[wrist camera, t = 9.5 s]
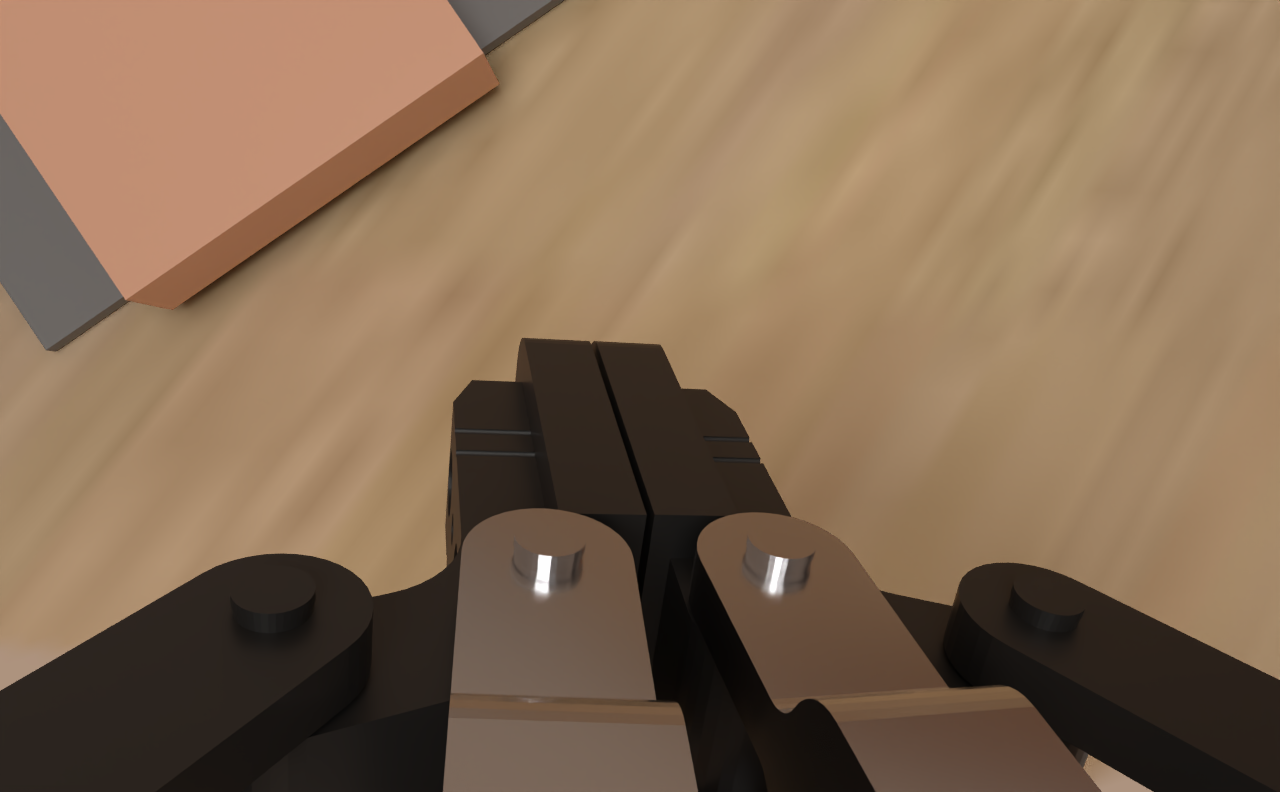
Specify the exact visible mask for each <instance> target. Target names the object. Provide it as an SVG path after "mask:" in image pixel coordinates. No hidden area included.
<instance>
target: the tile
mask: <svg viewBox="0 0 1280 792" xmlns="http://www.w3.org/2000/svg"><path fill="white" fill-rule="evenodd" d="M498 85H499V82H498V80H497V78H496V76H495V75H494V73H493V71H492V69H491V67H490V65H489V63H488V61H487V59H486V57H485V55H484V53H483V52H482V50H481V49H480V47H479V46H478V44H477V43H476V41H475V40H474V38H473V37H472V36H471V34H470V33H469V31H468V30H467V28H466V27H465V25H464V24H463V22H462V21H461V20H460V18H459V17H458V15H457V14H456V12H455V11H454V9H453V8H452V6H451V5H450V4H449V2H448V1H447V0H0V114H1V116H2V117H3V119H4V120H5V122H6V123H7V125H8V126H9V128H10V129H11V131H12V132H13V134H14V135H15V137H16V138H17V139H18V141H19V142H20V144H21V145H22V147H23V148H24V150H25V151H26V153H27V154H28V156H29V157H30V159H31V160H32V162H33V163H34V165H35V166H36V168H37V169H38V171H39V172H40V174H41V175H42V177H43V178H44V180H45V181H46V183H47V184H48V186H49V187H50V189H51V190H52V192H53V193H54V195H55V196H56V197H57V199H58V200H59V202H60V203H61V205H62V206H63V208H64V209H65V211H66V212H67V214H68V215H69V217H70V218H71V220H72V221H73V223H74V224H75V226H76V227H77V229H78V230H79V232H80V233H81V235H82V236H83V238H84V239H85V241H86V242H87V244H88V245H89V247H90V248H91V250H92V251H93V253H94V254H95V255H96V257H97V258H98V260H99V261H100V263H101V264H102V266H103V267H104V269H105V270H106V272H107V273H108V275H109V276H110V278H111V279H112V281H113V282H114V284H115V285H116V287H117V288H118V290H119V291H120V293H121V294H122V296H123V297H124V299H125V300H127V301H132V302H137V303H142V304H147V305H152V306H156V307H161V308H166V309H171V310H173V309H174V308H176V307H177V306H179V305H180V304H182V303H183V302H184V301H186V300H187V299H189V298H190V297H192V296H193V295H195V294H196V293H197V292H199V291H200V290H202V289H203V288H205V287H206V286H208V285H209V284H211V283H212V282H213V281H215V280H216V279H218V278H219V277H221V276H222V275H224V274H225V273H226V272H228V271H229V270H231V269H232V268H234V267H235V266H237V265H238V264H239V263H241V262H242V261H244V260H245V259H247V258H248V257H250V256H251V255H253V254H254V253H255V252H257V251H258V250H260V249H261V248H263V247H264V246H266V245H267V244H268V243H270V242H271V241H273V240H274V239H276V238H277V237H279V236H280V235H282V234H283V233H284V232H286V231H287V230H289V229H290V228H292V227H293V226H295V225H296V224H297V223H299V222H300V221H302V220H303V219H305V218H306V217H308V216H309V215H311V214H312V213H313V212H315V211H316V210H318V209H319V208H321V207H322V206H324V205H325V204H326V203H328V202H329V201H331V200H332V199H334V198H335V197H337V196H338V195H340V194H341V193H342V192H344V191H345V190H347V189H348V188H350V187H351V186H353V185H354V184H355V183H357V182H358V181H360V180H361V179H363V178H364V177H366V176H367V175H369V174H370V173H371V172H373V171H374V170H376V169H377V168H379V167H380V166H382V165H383V164H384V163H386V162H387V161H389V160H390V159H392V158H393V157H395V156H396V155H398V154H399V153H400V152H402V151H403V150H405V149H406V148H408V147H409V146H411V145H412V144H413V143H415V142H416V141H418V140H419V139H421V138H422V137H424V136H425V135H427V134H428V133H429V132H431V131H432V130H434V129H435V128H437V127H438V126H440V125H441V124H442V123H444V122H445V121H447V120H448V119H450V118H451V117H453V116H454V115H455V114H457V113H458V112H460V111H461V110H463V109H464V108H466V107H467V106H469V105H470V104H471V103H473V102H474V101H476V100H477V99H479V98H480V97H482V96H483V95H484V94H486V93H487V92H489V91H490V90H492V89H493V88H495V87H496V86H498Z"/></svg>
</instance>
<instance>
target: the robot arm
mask: <svg viewBox="0 0 1280 792" xmlns="http://www.w3.org/2000/svg"><path fill="white" fill-rule="evenodd" d="M445 529H446V555H447V567H446V568H445V569H444V570H443V571H441V572H440V573H439V574H437V575H436V576H434V577H433V578H431V579H429V580H427V581H425V582H423V583H421V584H419V585H416V586H413V587H411V588H408V589H405V590H401V591H397V592H393V593H389V594H385V595H380V596H375V597H372V596H371V594H370V592H369V589H368V587H367V586H366V585H365V584H364V582H363V581H362V580H361V579H360V578H359V577H358V576H356V575H355V574H354V573H353V572H351V571H350V570H348V569H346V568H344V567H343V566H341V565H338V564H336V563H333V562H331V561H328V560H325V559H321V558H317V557H313V556H306V555H299V554H264V555H257V556H251V557H245V558H241V559H237V560H233V561H230V562H227V563H224V564H222V565H219V566H216V567H214V568H212V569H210V570H208V571H206V572H204V573H202V574H201V575H199V576H197V577H195V578H194V579H192V580H190V581H188V582H187V583H185V584H183V585H182V586H180V587H178V588H176V589H175V590H173V591H171V592H170V593H168V594H166V595H164V596H163V597H161V598H159V599H158V600H156V601H154V602H152V603H151V604H149V605H147V606H145V607H144V608H142V609H140V610H139V611H137V612H135V613H133V614H132V615H130V616H128V617H127V618H125V619H123V620H121V621H120V622H118V623H116V624H115V625H113V626H111V627H109V628H108V629H106V630H104V631H102V632H101V633H99V634H97V635H96V636H94V637H92V638H90V639H89V640H87V641H85V642H84V643H82V644H80V645H78V646H77V647H75V648H73V649H72V650H70V651H68V652H66V653H65V654H63V655H61V656H59V657H58V658H56V659H54V660H53V661H51V662H49V663H47V664H46V665H44V666H42V667H41V668H39V669H37V670H35V671H34V672H32V673H30V674H29V675H27V676H25V677H23V678H22V679H20V680H18V681H16V682H15V683H13V684H11V685H10V686H8V687H6V688H4V689H3V690H1V691H0V792H1101V790H1100V789H1099V788H1098V787H1097V785H1096V784H1095V783H1094V781H1093V780H1092V779H1091V778H1090V776H1089V775H1088V774H1087V773H1086V771H1085V770H1084V769H1083V767H1084V764H1085V762H1086V759H1087V757H1088V754H1089V755H1091V756H1093V757H1094V758H1096V759H1098V760H1100V761H1101V762H1103V763H1105V764H1106V765H1108V766H1110V767H1112V768H1113V769H1115V770H1117V771H1119V772H1120V773H1122V774H1124V775H1126V776H1127V777H1129V778H1131V779H1132V780H1134V781H1136V782H1138V783H1139V784H1141V785H1143V786H1145V787H1146V788H1148V789H1150V790H1152V791H1154V792H1280V680H1278V679H1276V678H1274V677H1272V676H1270V675H1268V674H1266V673H1264V672H1262V671H1260V670H1258V669H1256V668H1254V667H1252V666H1250V665H1248V664H1245V663H1243V662H1241V661H1239V660H1237V659H1235V658H1233V657H1231V656H1229V655H1227V654H1225V653H1223V652H1221V651H1219V650H1217V649H1215V648H1213V647H1211V646H1209V645H1207V644H1205V643H1203V642H1201V641H1199V640H1197V639H1195V638H1192V637H1190V636H1188V635H1186V634H1184V633H1182V632H1180V631H1178V630H1176V629H1174V628H1172V627H1170V626H1168V625H1166V624H1164V623H1162V622H1160V621H1158V620H1156V619H1154V618H1152V617H1150V616H1148V615H1146V614H1144V613H1141V612H1139V611H1137V610H1135V609H1133V608H1131V607H1129V606H1127V605H1125V604H1123V603H1121V602H1119V601H1117V600H1115V599H1113V598H1111V597H1109V596H1107V595H1105V594H1103V593H1101V592H1099V591H1097V590H1095V589H1093V588H1091V587H1088V586H1086V585H1084V584H1082V583H1080V582H1078V581H1076V580H1074V579H1072V578H1069V577H1067V576H1065V575H1062V574H1059V573H1057V572H1054V571H1051V570H1048V569H1044V568H1040V567H1036V566H1031V565H1025V564H1018V563H993V564H986V565H982V566H979V567H976V568H974V569H972V570H971V571H969V572H968V573H967V574H966V575H965V576H964V577H963V578H962V580H961V582H960V584H959V587H958V590H957V594H956V597H955V600H954V604H953V606H949V605H944V604H939V603H934V602H930V601H925V600H920V599H915V598H910V597H906V596H901V595H896V594H892V593H888V592H884V591H880V590H879V589H878V588H877V586H876V585H875V583H874V582H873V581H872V579H871V578H870V576H869V575H868V573H867V572H866V571H865V569H864V568H863V566H862V565H861V564H860V562H859V561H858V559H857V558H856V557H855V555H854V554H853V553H852V551H851V550H850V549H849V548H848V547H847V546H846V545H845V544H844V543H843V542H842V541H840V540H839V539H838V538H837V537H835V536H834V535H832V534H831V533H829V532H827V531H825V530H823V529H822V528H820V527H818V526H815V525H813V524H810V523H808V522H806V521H803V520H799V519H796V518H793V517H791V515H790V513H789V511H788V510H787V508H786V506H785V504H784V502H783V500H782V498H781V496H780V494H779V493H778V491H777V489H776V487H775V485H774V483H773V481H772V479H771V478H770V476H769V474H768V472H767V470H766V468H765V466H764V464H760V457H759V455H758V453H757V451H756V449H755V447H754V445H753V444H752V443H751V442H749V436H748V434H747V432H746V430H745V428H744V427H743V425H742V423H741V421H740V419H739V417H738V415H737V413H736V412H735V411H733V410H732V409H731V408H729V407H728V406H727V405H726V404H724V403H723V402H722V401H720V400H719V399H718V398H716V397H715V396H714V395H712V394H711V393H710V392H708V391H707V390H700V389H681V387H680V385H679V383H678V381H677V379H676V376H675V374H674V372H673V370H672V368H671V366H670V363H669V361H668V359H667V357H666V355H665V352H664V350H663V348H662V347H661V345H659V344H639V343H618V342H598V341H594V342H593V343H592V345H591V343H590V342H589V341H574V340H554V339H534V338H522V339H521V342H520V346H519V352H518V360H517V370H516V381H515V382H503V381H479V380H472V381H471V382H470V383H469V385H468V386H467V387H466V388H465V389H464V390H463V391H462V393H461V394H460V395H459V396H458V397H457V398H456V400H455V401H454V402H453V415H452V431H451V446H450V462H449V477H448V493H447V508H446V524H445Z"/></svg>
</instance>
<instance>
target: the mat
mask: <svg viewBox="0 0 1280 792" xmlns="http://www.w3.org/2000/svg"><path fill="white" fill-rule="evenodd" d="M447 1H448V2H449V4H450V5H451V6H452V8H453V9H454V11H455V12H456V14H457V15H458V17H459V18H460V20H461V21H462V22H463V24H464V25H465V27H466V28H467V30H468V31H469V33H470V34H471V36H472V37H473V38H474V40H475V41H476V43H477V44H478V46H479V47H480V49H481V50H482V52H483V53H484V55H486V54H487V53H489V52H490V51H492V50H493V49H494V48H496V47H497V46H499V45H500V44H502V43H503V42H505V41H506V40H507V39H509V38H510V37H512V36H513V35H515V34H516V33H518V32H519V31H520V30H522V29H523V28H525V27H526V26H528V25H529V24H531V23H532V22H534V21H535V20H536V19H538V18H539V17H541V16H542V15H544V14H545V13H547V12H548V11H549V10H551V9H552V8H554V7H555V6H557V5H558V4H560V3H561V2H562V1H564V0H447ZM0 282H1V284H2V285H3V287H4V288H5V290H6V291H7V293H8V294H9V296H10V297H11V299H12V300H13V302H14V303H15V305H16V306H17V308H18V309H19V311H20V312H21V314H22V315H23V317H24V318H25V320H26V321H27V323H28V324H29V326H30V327H31V329H32V330H33V332H34V333H35V335H36V336H37V338H38V339H39V341H40V342H41V344H42V345H43V346H44V348H45V349H46V350H49V351H58V350H59V349H60V348H62V347H63V346H65V345H66V344H68V343H69V342H71V341H72V340H73V339H75V338H76V337H78V336H79V335H81V334H82V333H84V332H85V331H86V330H88V329H89V328H91V327H92V326H94V325H95V324H97V323H98V322H99V321H101V320H102V319H104V318H105V317H107V316H108V315H110V314H111V313H113V312H114V311H115V310H117V309H118V308H120V307H121V306H123V305H124V304H126V303H127V302H128V301H127V300H125V299H124V297H123V296H122V294H121V293H120V291H119V290H118V288H117V287H116V285H115V284H114V282H113V281H112V279H111V278H110V276H109V275H108V273H107V272H106V270H105V269H104V267H103V266H102V264H101V263H100V261H99V260H98V258H97V257H96V255H95V254H94V253H93V251H92V250H91V248H90V247H89V245H88V244H87V242H86V241H85V239H84V238H83V236H82V235H81V233H80V232H79V230H78V229H77V227H76V226H75V224H74V223H73V221H72V220H71V218H70V217H69V215H68V214H67V212H66V211H65V209H64V208H63V206H62V205H61V203H60V202H59V200H58V199H57V197H56V196H55V195H54V193H53V192H52V190H51V189H50V187H49V186H48V184H47V183H46V181H45V180H44V178H43V177H42V175H41V174H40V172H39V171H38V169H37V168H36V166H35V165H34V163H33V162H32V160H31V159H30V157H29V156H28V154H27V153H26V151H25V150H24V148H23V147H22V145H21V144H20V142H19V141H18V139H17V138H16V137H15V135H14V134H13V132H12V131H11V129H10V128H9V126H8V125H7V123H6V122H5V120H4V119H3V117H2V116H1V114H0Z"/></svg>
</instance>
